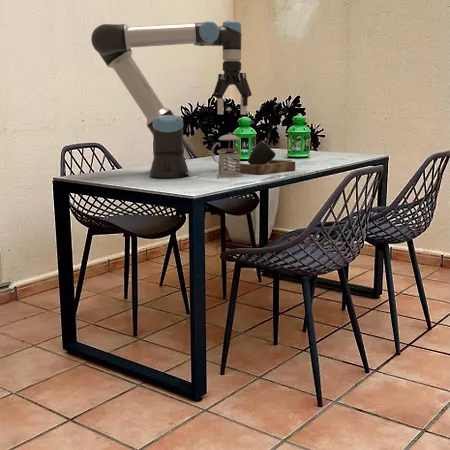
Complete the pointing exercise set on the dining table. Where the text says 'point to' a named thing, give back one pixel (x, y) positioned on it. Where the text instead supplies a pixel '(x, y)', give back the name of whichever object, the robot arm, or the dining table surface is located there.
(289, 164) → the brown wooden tray
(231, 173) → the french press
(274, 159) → the t block
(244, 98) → the robot arm
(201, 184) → the dining table surface
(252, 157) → the mug
